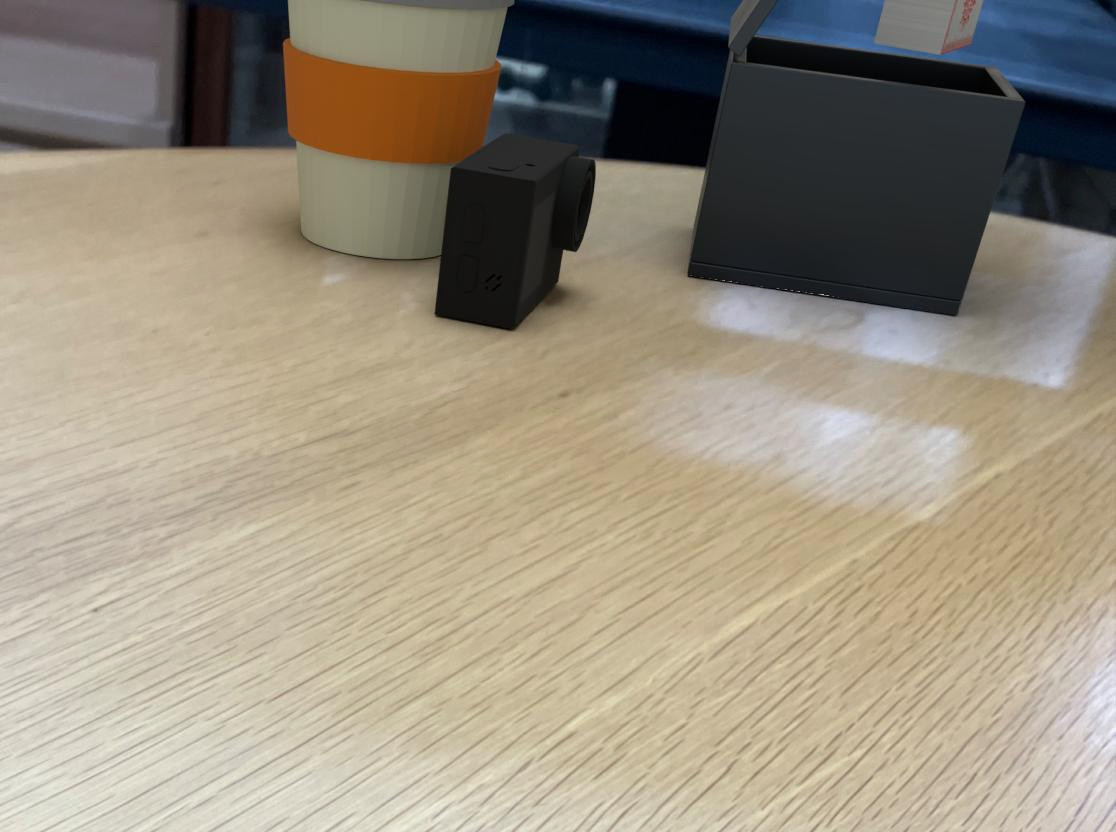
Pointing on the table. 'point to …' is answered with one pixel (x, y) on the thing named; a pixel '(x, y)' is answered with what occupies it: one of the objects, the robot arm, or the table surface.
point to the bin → (852, 173)
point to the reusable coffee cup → (386, 115)
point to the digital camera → (511, 227)
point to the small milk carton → (928, 24)
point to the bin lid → (747, 22)
